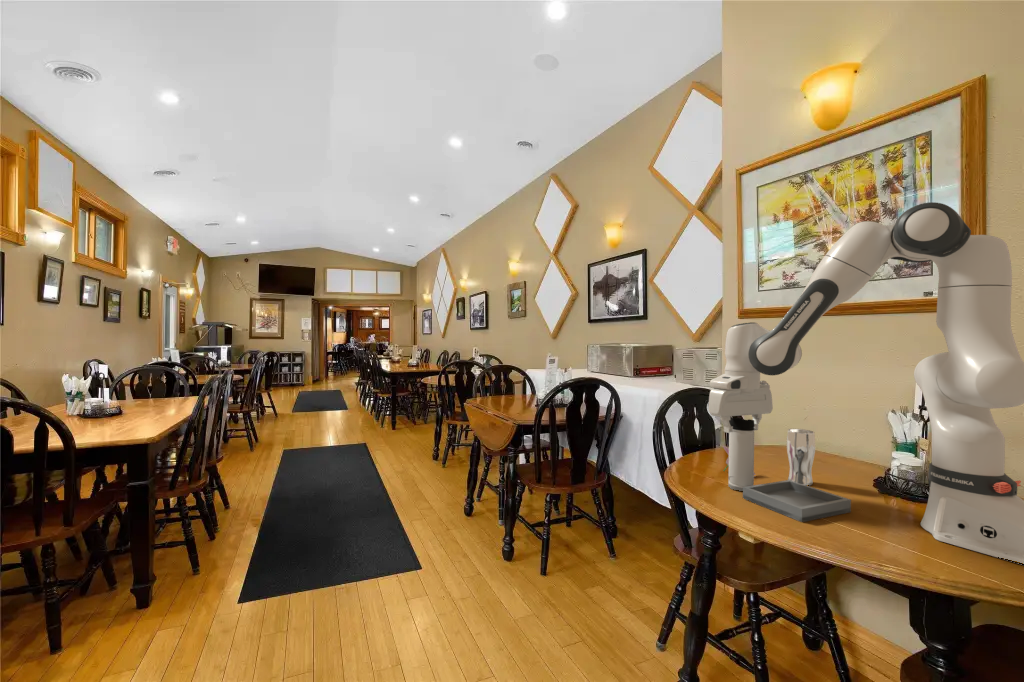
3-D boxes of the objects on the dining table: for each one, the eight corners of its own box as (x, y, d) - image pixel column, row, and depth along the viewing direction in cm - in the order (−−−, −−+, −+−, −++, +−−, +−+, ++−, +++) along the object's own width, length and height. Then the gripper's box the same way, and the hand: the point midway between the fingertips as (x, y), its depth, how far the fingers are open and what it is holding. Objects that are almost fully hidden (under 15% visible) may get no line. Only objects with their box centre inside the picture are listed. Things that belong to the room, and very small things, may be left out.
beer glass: (820, 486, 128) (821, 433, 128) (795, 486, 128) (796, 433, 128) (804, 478, 135) (805, 428, 135) (781, 478, 135) (781, 428, 135)
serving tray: (850, 512, 110) (850, 499, 109) (801, 522, 103) (801, 509, 103) (788, 490, 124) (788, 479, 124) (742, 498, 118) (742, 487, 118)
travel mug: (724, 488, 126) (725, 416, 126) (733, 483, 131) (733, 413, 130) (748, 494, 121) (749, 419, 121) (756, 488, 126) (757, 416, 126)
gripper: (759, 379, 132) (758, 426, 133) (705, 381, 125) (704, 431, 125) (779, 381, 126) (778, 430, 127) (723, 383, 119) (722, 436, 119)
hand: (741, 431), depth 126 cm, fingers open, 8 cm apart
